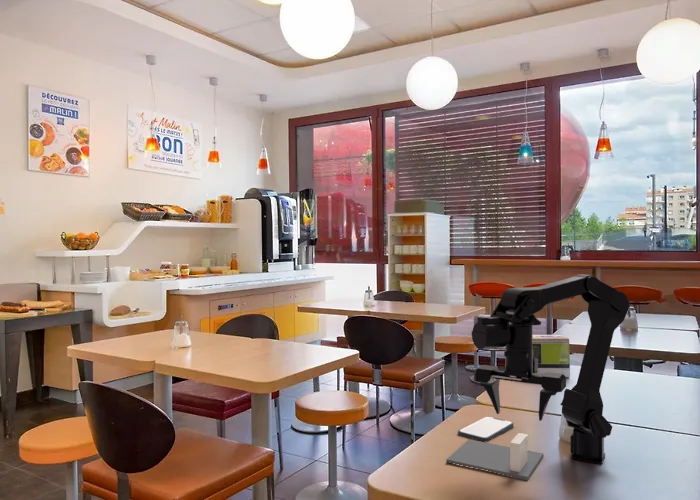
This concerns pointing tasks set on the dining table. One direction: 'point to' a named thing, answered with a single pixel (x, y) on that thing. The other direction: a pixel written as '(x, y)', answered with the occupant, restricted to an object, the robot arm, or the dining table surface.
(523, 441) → the block
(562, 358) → the tea box
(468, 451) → the mat
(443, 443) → the dining table surface
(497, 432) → the phone case
